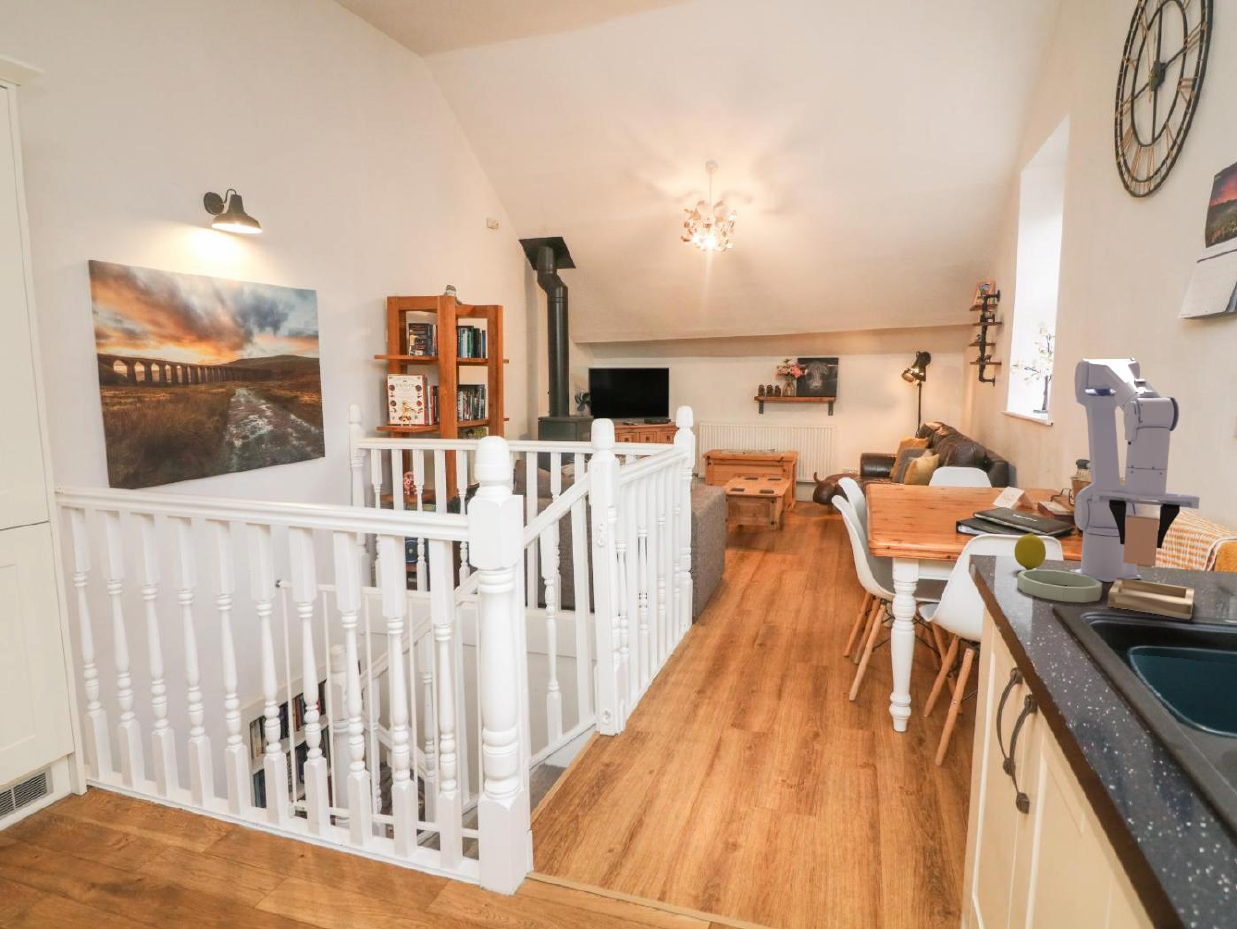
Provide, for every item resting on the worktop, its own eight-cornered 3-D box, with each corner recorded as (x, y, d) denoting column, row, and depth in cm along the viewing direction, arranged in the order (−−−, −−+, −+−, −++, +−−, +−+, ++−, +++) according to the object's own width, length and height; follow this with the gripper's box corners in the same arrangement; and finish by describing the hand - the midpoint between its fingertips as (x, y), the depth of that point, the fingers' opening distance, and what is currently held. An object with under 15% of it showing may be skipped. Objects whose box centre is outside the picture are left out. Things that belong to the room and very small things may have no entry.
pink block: (1123, 557, 122) (1126, 513, 122) (1154, 561, 120) (1158, 516, 119) (1123, 562, 119) (1126, 517, 118) (1155, 566, 116) (1158, 520, 116)
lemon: (1016, 573, 140) (1018, 534, 139) (1011, 566, 145) (1013, 529, 144) (1047, 575, 138) (1050, 536, 137) (1041, 568, 143) (1043, 531, 142)
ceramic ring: (1052, 579, 135) (1053, 567, 135) (1117, 597, 123) (1118, 584, 123) (1002, 585, 131) (1003, 572, 131) (1064, 605, 119) (1065, 591, 119)
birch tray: (1116, 590, 127) (1117, 577, 127) (1193, 602, 120) (1194, 588, 120) (1107, 606, 118) (1108, 592, 118) (1190, 620, 111) (1191, 605, 110)
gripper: (1094, 467, 119) (1088, 544, 120) (1203, 472, 110) (1196, 555, 112) (1095, 463, 124) (1090, 537, 126) (1200, 468, 116) (1193, 547, 117)
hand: (1140, 545), depth 119 cm, fingers closed on pink block, 4 cm apart
